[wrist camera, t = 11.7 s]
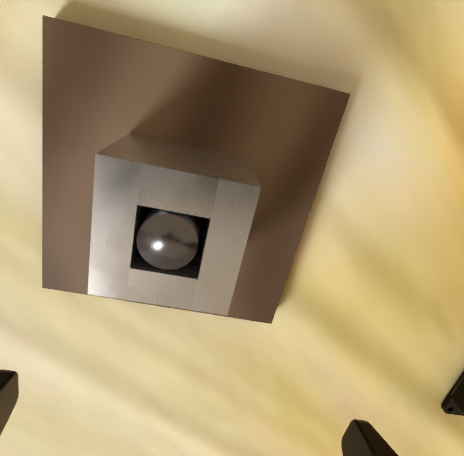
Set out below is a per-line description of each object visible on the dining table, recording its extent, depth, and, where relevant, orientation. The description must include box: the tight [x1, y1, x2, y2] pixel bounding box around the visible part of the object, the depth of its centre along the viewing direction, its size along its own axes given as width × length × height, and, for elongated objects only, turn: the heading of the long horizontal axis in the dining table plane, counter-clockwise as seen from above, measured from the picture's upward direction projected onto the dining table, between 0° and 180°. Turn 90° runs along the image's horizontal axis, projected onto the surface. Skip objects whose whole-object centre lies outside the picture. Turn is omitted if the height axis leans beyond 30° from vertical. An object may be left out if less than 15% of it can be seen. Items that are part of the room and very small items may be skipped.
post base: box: [42, 15, 350, 324], centre depth 16 cm, size 14×14×6 cm
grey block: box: [88, 133, 261, 315], centre depth 15 cm, size 6×6×5 cm
